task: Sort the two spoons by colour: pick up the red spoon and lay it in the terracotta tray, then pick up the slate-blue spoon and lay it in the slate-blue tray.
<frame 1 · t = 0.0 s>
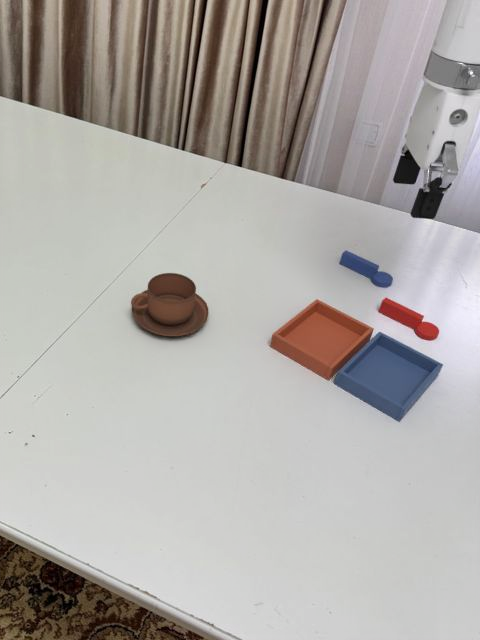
hand: (412, 199, 86), 22 cm above the table, tool pointing down, fingers open, 9 cm apart
blue spoon: (365, 274, 111), on the table
slate tray: (386, 380, 91), on the table
cup and saucer: (169, 319, 98), on the table
red spoon: (407, 324, 101), on the table
terracotta tray: (320, 343, 96), on the table
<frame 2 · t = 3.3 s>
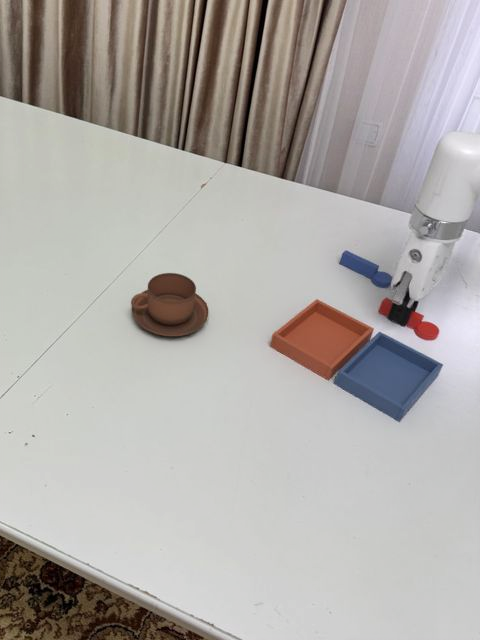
hand: (399, 319, 102), 0 cm above the table, tool pointing down, fingers closed on red spoon, 1 cm apart
red spoon: (407, 323, 101), on the table, touching gripper
everything else where it was.
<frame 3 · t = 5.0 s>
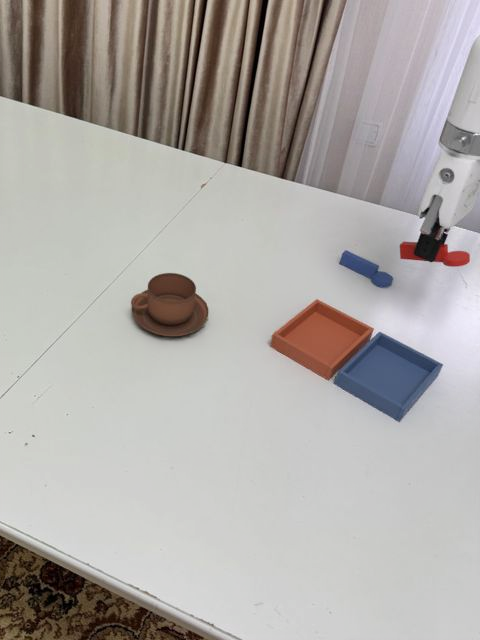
hand: (426, 255, 94), 13 cm above the table, tool pointing down, fingers closed on red spoon, 1 cm apart
red spoon: (434, 260, 93), point 12 cm above the table, tilted 21°, touching gripper
everything else where it was.
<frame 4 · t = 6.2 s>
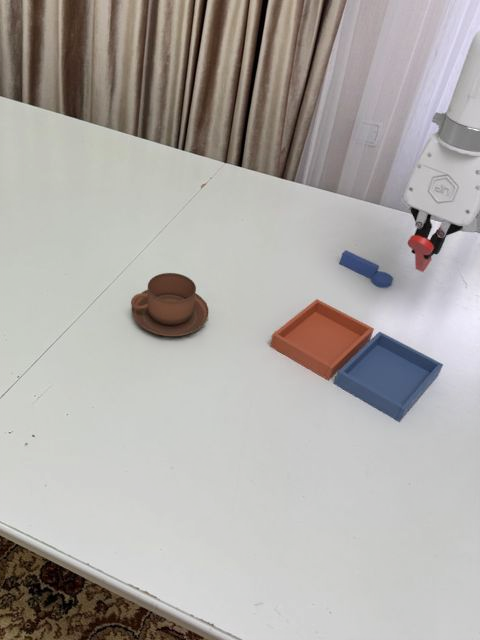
hand: (423, 252, 93), 13 cm above the table, tool pointing down, fingers closed on red spoon, 1 cm apart
red spoon: (418, 257, 92), point 13 cm above the table, tilted 51°, touching gripper
everything else where it was.
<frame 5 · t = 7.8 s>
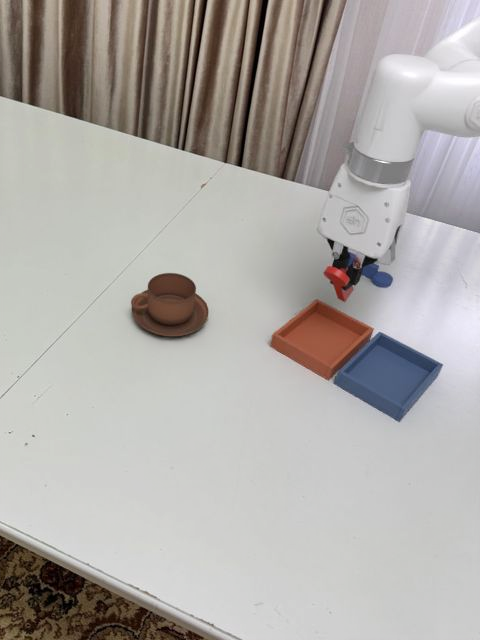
hand: (342, 282, 90), 11 cm above the table, tool pointing down, fingers closed on red spoon, 1 cm apart
red spoon: (337, 288, 89), point 11 cm above the table, tilted 52°, touching gripper
everything else where it was.
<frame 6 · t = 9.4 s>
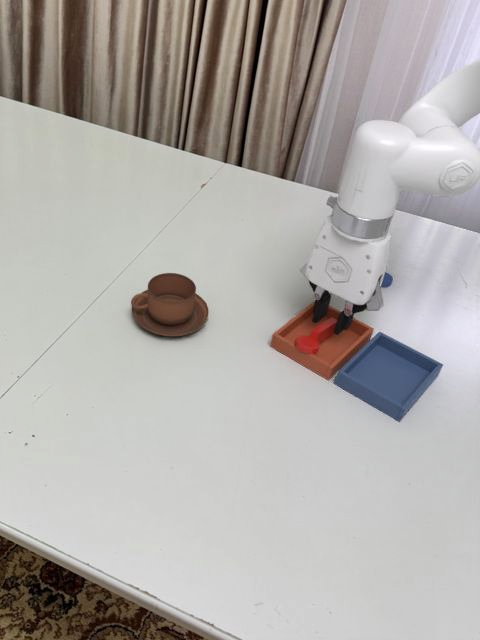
hand: (329, 323, 95), 3 cm above the table, tool pointing down, fingers open, 3 cm apart
red spoon: (315, 341, 94), point 2 cm above the table, tilted 13°, touching terracotta tray
everything else where it was.
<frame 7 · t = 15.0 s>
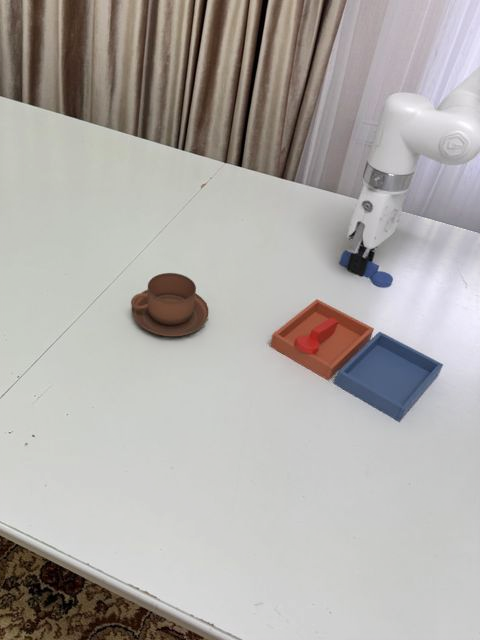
hand: (357, 269, 112), 0 cm above the table, tool pointing down, fingers closed on blue spoon, 1 cm apart
blue spoon: (365, 273, 111), on the table, touching gripper
everything else where it was.
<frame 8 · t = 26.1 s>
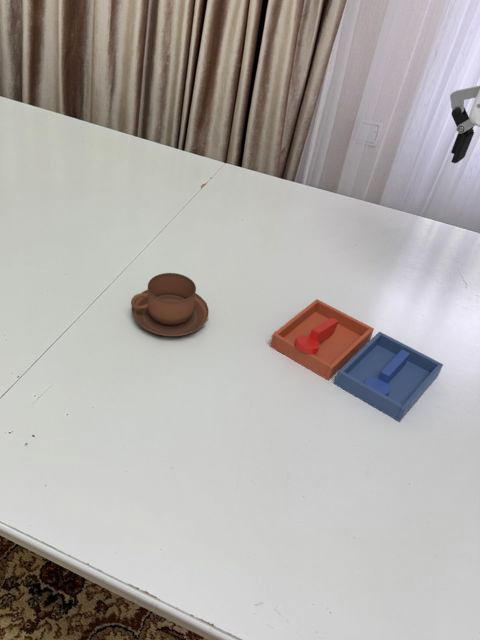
blue spoon: (385, 379, 90), resting on slate tray
everything else where it was.
at the end: red spoon inside the target area in the terracotta tray (1.9 cm from its centre), point 1.6 cm above the terracotta tray's base; blue spoon inside the target area in the slate tray (0.5 cm from its centre), point 0.5 cm above the slate tray's base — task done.
